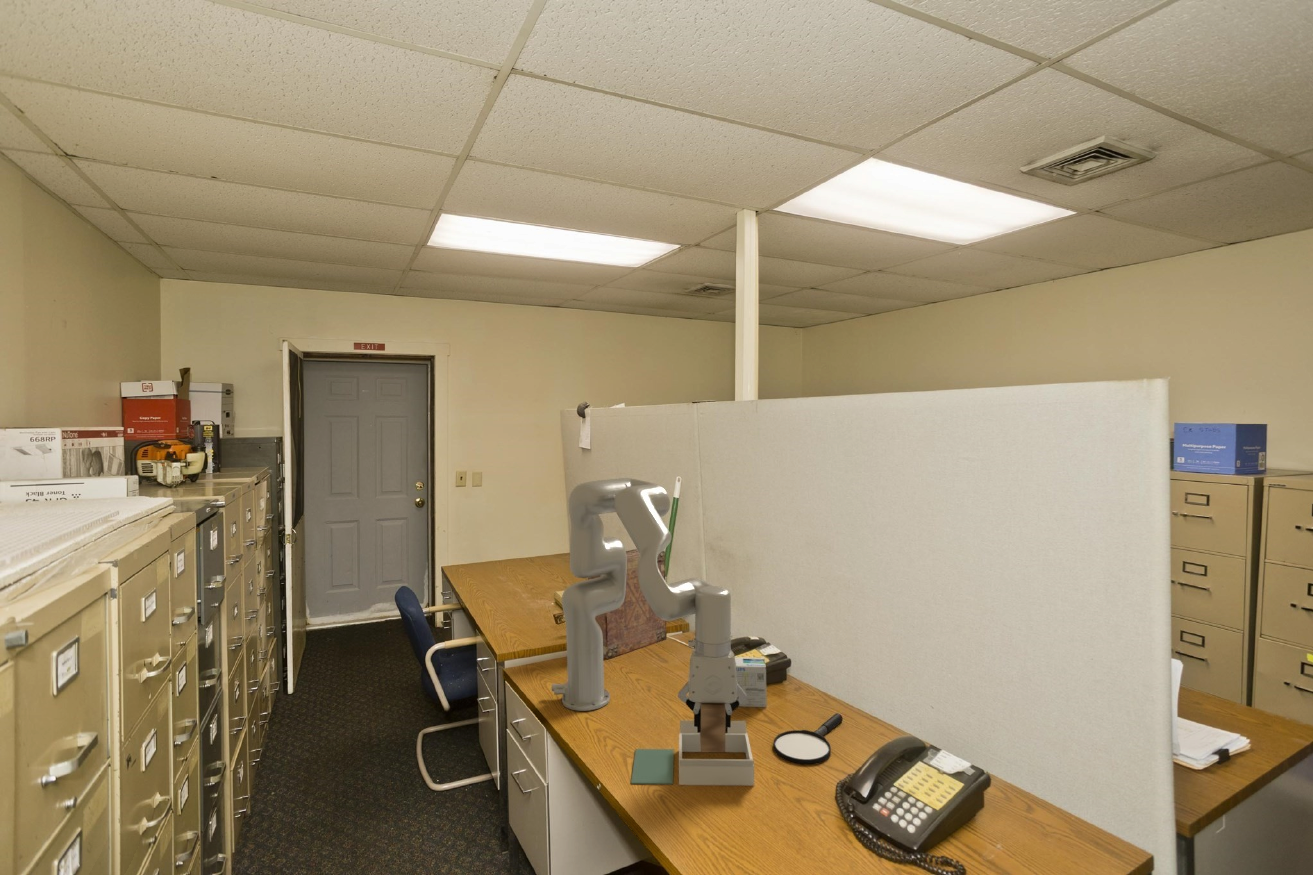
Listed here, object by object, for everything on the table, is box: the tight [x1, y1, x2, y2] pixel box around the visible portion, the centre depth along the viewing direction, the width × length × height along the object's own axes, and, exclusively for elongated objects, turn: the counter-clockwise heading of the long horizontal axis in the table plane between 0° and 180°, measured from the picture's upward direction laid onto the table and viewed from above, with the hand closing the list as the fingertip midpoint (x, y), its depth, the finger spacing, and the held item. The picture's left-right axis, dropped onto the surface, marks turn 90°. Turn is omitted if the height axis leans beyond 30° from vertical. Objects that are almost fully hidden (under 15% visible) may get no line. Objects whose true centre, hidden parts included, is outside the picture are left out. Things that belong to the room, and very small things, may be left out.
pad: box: [630, 748, 675, 785], centre depth 135 cm, size 8×13×1 cm, turn 178°
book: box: [587, 548, 668, 660], centre depth 206 cm, size 25×9×30 cm, turn 133°
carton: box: [678, 720, 755, 787], centre depth 134 cm, size 15×16×6 cm
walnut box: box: [700, 703, 726, 753], centre depth 135 cm, size 5×9×9 cm, turn 178°
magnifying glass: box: [772, 712, 844, 766], centre depth 145 cm, size 12×24×2 cm, turn 137°
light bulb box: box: [735, 656, 768, 708], centre depth 165 cm, size 11×7×11 cm, turn 84°
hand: (712, 728), depth 135 cm, fingers closed on walnut box, 5 cm apart
